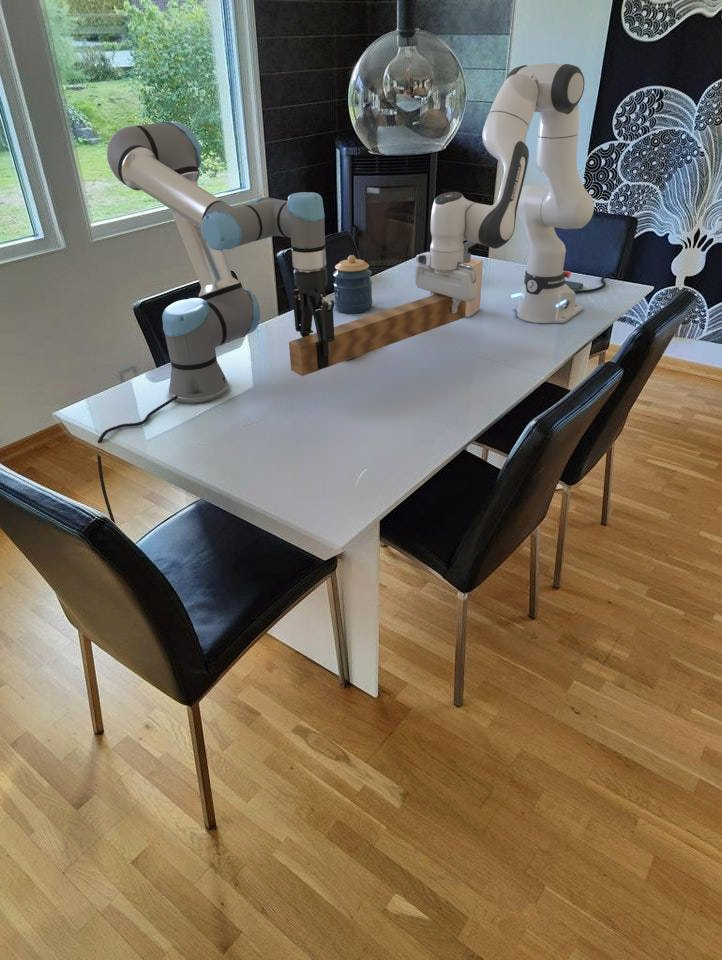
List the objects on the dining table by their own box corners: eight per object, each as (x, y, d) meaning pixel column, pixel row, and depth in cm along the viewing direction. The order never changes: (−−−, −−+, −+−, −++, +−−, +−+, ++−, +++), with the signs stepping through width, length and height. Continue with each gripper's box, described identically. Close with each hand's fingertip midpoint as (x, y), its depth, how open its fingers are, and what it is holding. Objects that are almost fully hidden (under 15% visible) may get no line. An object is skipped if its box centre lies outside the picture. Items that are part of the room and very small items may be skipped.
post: (302, 376, 159) (300, 347, 155) (291, 370, 162) (288, 341, 158) (465, 317, 189) (466, 291, 185) (453, 313, 192) (454, 288, 188)
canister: (340, 315, 224) (337, 262, 214) (330, 304, 234) (327, 252, 224) (377, 311, 226) (376, 257, 217) (366, 299, 237) (364, 248, 227)
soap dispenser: (469, 317, 218) (472, 247, 206) (445, 313, 222) (447, 244, 210) (485, 305, 227) (489, 238, 215) (462, 302, 231) (465, 236, 219)
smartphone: (577, 289, 235) (536, 281, 242) (576, 293, 236) (535, 286, 243) (584, 283, 240) (544, 276, 247) (583, 287, 241) (543, 280, 248)
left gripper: (348, 272, 147) (351, 370, 160) (300, 257, 158) (307, 349, 171) (321, 279, 143) (327, 379, 156) (273, 263, 154) (283, 358, 167)
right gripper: (484, 263, 173) (481, 315, 181) (427, 250, 186) (427, 299, 194) (468, 269, 170) (465, 321, 177) (411, 255, 183) (411, 304, 191)
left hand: (316, 364), depth 163 cm, fingers closed on post, 5 cm apart
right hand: (445, 309), depth 186 cm, fingers closed on post, 4 cm apart
